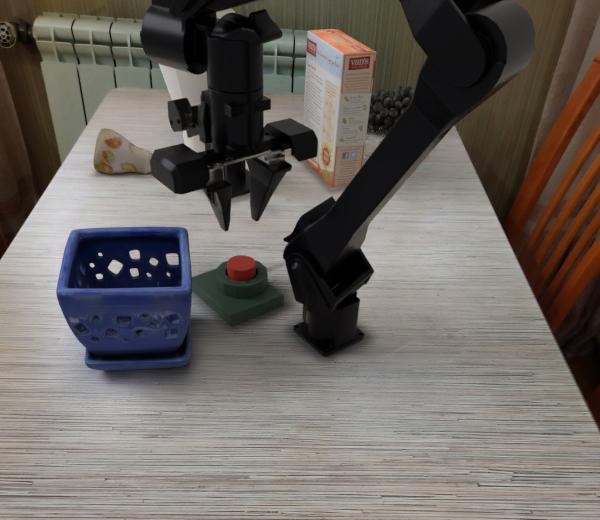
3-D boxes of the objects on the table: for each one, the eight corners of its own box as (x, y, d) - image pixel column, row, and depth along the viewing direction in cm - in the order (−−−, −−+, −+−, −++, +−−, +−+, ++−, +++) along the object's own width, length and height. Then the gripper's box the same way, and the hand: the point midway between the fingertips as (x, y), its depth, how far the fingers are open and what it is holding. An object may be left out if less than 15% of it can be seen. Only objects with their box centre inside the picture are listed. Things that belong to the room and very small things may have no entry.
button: (261, 276, 77) (261, 264, 76) (237, 285, 75) (237, 273, 74) (245, 264, 79) (245, 252, 78) (222, 272, 77) (221, 260, 76)
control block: (284, 304, 78) (285, 281, 76) (231, 327, 74) (229, 303, 72) (242, 270, 83) (241, 247, 81) (189, 288, 80) (187, 265, 77)
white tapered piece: (157, 183, 102) (118, 134, 94) (113, 200, 106) (72, 155, 98) (166, 155, 106) (129, 106, 98) (123, 173, 110) (84, 127, 102)
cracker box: (362, 186, 104) (378, 50, 89) (330, 191, 102) (341, 53, 87) (330, 154, 113) (339, 26, 98) (300, 158, 111) (305, 28, 97)
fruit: (349, 82, 115) (428, 85, 114) (348, 84, 122) (423, 87, 122) (345, 132, 119) (422, 135, 118) (345, 130, 126) (417, 134, 126)
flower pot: (198, 308, 77) (189, 222, 68) (200, 378, 67) (191, 288, 59) (90, 314, 75) (68, 226, 67) (77, 386, 66) (50, 294, 57)
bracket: (268, 190, 101) (268, 123, 94) (223, 203, 97) (219, 135, 90) (229, 164, 108) (227, 101, 100) (185, 176, 104) (179, 110, 96)
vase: (153, 140, 114) (129, -48, 94) (222, 127, 120) (213, -53, 100) (187, 169, 106) (168, -31, 85) (259, 153, 112) (258, -38, 92)
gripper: (265, 51, 70) (265, 181, 81) (115, 77, 62) (138, 218, 72) (325, 78, 64) (316, 214, 75) (168, 110, 55) (184, 259, 66)
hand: (240, 224), depth 72 cm, fingers open, 4 cm apart
